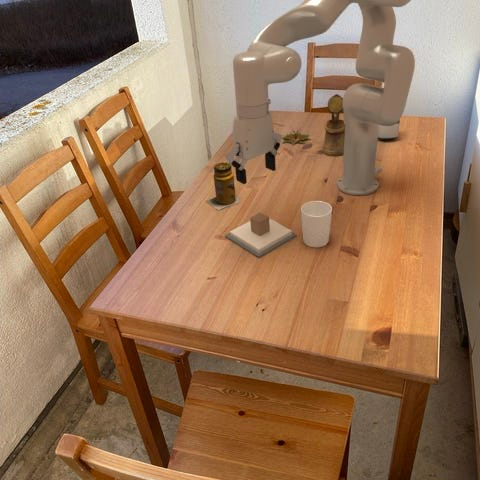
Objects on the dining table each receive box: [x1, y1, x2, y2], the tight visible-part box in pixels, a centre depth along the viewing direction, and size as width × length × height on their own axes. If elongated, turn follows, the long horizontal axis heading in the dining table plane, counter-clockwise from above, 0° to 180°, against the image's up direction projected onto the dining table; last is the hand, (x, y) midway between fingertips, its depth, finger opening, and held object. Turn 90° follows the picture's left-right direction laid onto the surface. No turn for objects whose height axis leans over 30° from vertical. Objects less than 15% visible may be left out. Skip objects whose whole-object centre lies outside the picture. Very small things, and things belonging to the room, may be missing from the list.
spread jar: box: [377, 119, 401, 142], centre depth 175 cm, size 12×11×12 cm
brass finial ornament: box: [321, 93, 345, 157], centre depth 168 cm, size 9×14×18 cm, turn 170°
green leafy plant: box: [281, 128, 311, 146], centre depth 182 cm, size 12×12×5 cm
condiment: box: [205, 162, 242, 211], centre depth 144 cm, size 7×8×12 cm
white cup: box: [300, 200, 333, 248], centre depth 123 cm, size 8×8×10 cm
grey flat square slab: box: [224, 231, 298, 259], centre depth 129 cm, size 14×14×1 cm
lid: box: [229, 212, 293, 253], centre depth 128 cm, size 12×12×6 cm
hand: (256, 175), depth 119 cm, fingers open, 9 cm apart
